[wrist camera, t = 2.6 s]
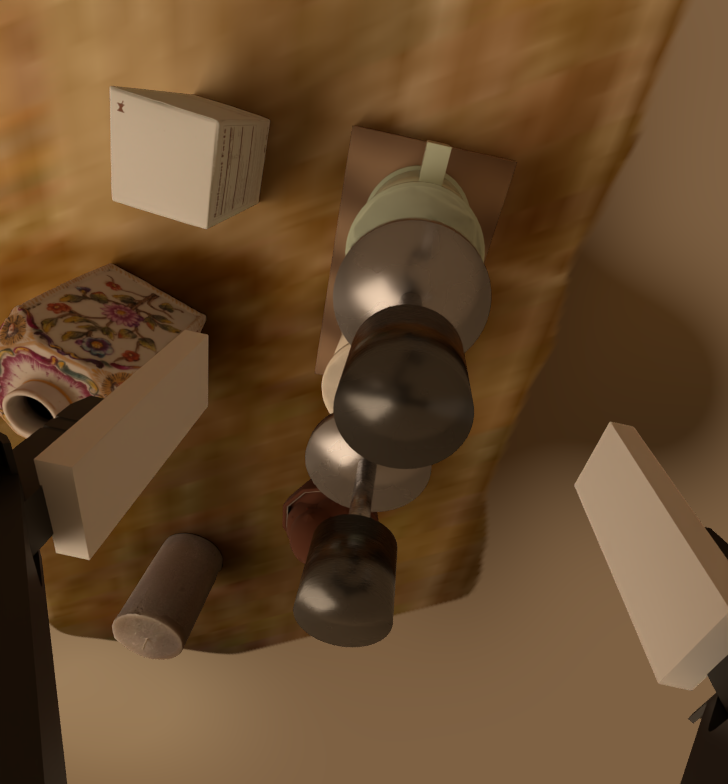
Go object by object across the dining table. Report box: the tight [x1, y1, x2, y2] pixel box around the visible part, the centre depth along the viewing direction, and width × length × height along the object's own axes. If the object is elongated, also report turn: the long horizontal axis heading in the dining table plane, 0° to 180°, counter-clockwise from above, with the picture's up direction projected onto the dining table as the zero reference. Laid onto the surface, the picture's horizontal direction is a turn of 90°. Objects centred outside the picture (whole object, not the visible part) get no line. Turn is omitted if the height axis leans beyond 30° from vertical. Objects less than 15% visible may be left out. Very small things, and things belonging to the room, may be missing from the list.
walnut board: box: [315, 126, 517, 375], centre depth 45 cm, size 24×14×2 cm, turn 169°
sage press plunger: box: [333, 217, 491, 469], centre depth 19 cm, size 8×8×11 cm
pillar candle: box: [112, 533, 223, 659], centre depth 65 cm, size 10×10×15 cm
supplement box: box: [110, 86, 270, 229], centre depth 36 cm, size 7×7×13 cm
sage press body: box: [345, 140, 485, 262], centre depth 36 cm, size 12×10×12 cm
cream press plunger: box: [293, 412, 431, 647], centre depth 25 cm, size 8×8×11 cm
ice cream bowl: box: [283, 479, 378, 564], centre depth 53 cm, size 11×11×15 cm
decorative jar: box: [0, 264, 206, 439], centre depth 44 cm, size 12×12×18 cm
